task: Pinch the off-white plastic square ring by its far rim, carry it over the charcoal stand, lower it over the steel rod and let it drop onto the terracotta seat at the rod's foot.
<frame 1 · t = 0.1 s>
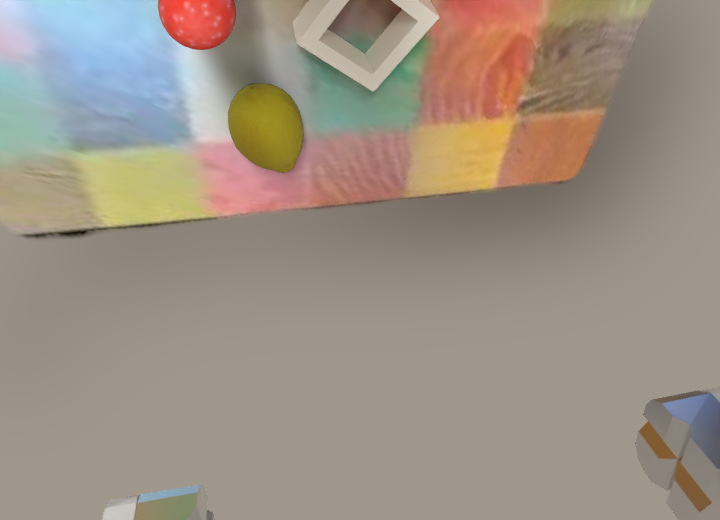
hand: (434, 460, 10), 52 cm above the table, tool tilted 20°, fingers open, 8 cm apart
lemon: (263, 105, 65), on the table
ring: (360, 10, 59), on the table
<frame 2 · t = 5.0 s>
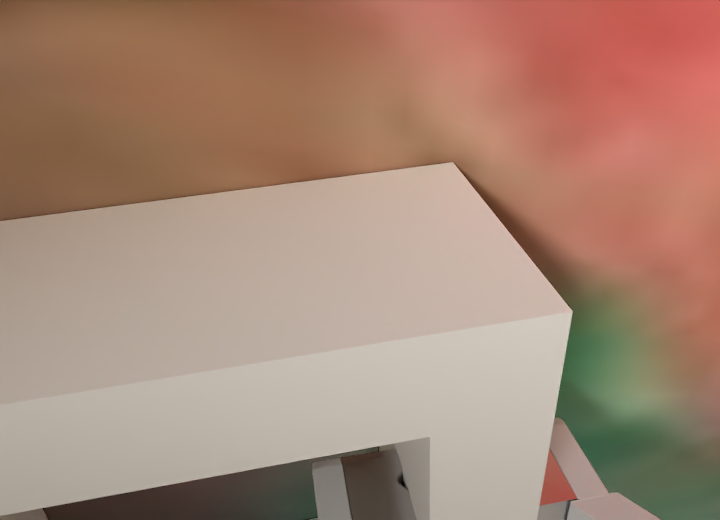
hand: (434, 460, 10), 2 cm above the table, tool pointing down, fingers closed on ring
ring: (201, 430, 11), on the table, touching gripper
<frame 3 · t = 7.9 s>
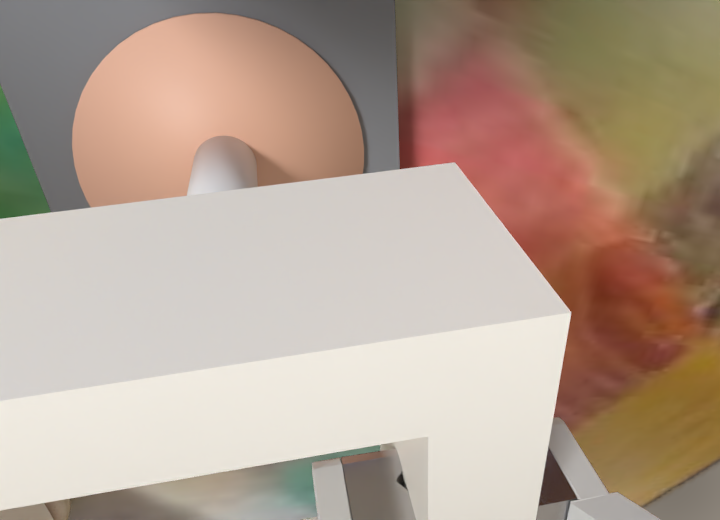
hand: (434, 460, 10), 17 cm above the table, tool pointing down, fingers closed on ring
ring: (203, 428, 11), point 15 cm above the table, touching gripper
rod stand: (226, 148, 24), on the table
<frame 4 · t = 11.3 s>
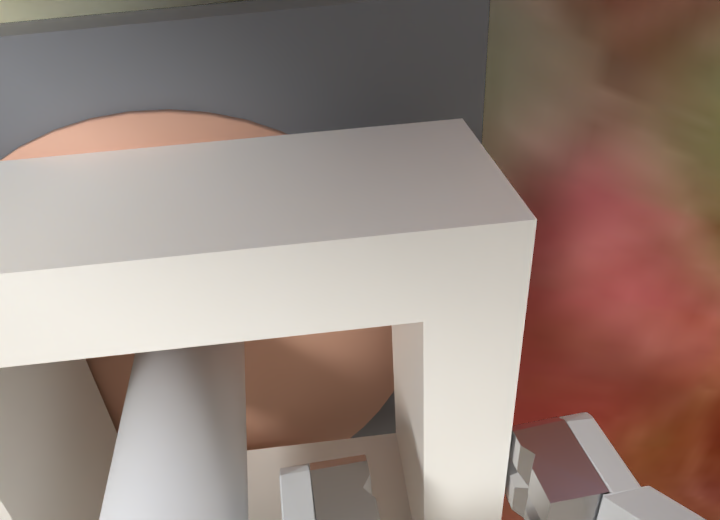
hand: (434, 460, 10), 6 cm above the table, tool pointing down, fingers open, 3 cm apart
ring: (241, 348, 13), point 2 cm above the table, tilted 5°, touching rod stand
rod stand: (196, 299, 15), on the table
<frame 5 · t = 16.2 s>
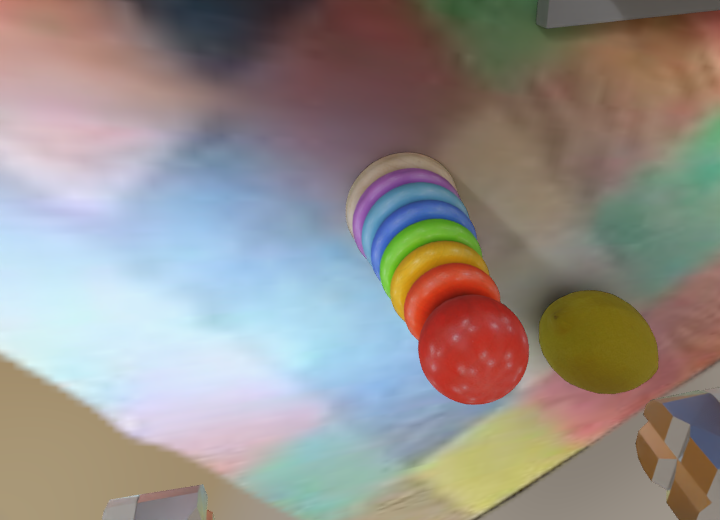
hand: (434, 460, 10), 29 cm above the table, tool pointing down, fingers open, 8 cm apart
lemon: (572, 312, 50), on the table
stacking toy: (398, 200, 41), on the table
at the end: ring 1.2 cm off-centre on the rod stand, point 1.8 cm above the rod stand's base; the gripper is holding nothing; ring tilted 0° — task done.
